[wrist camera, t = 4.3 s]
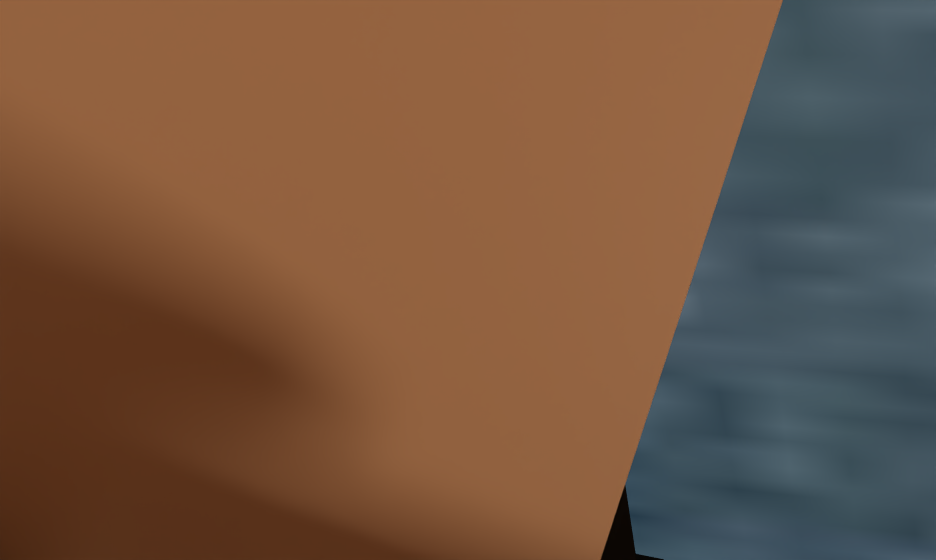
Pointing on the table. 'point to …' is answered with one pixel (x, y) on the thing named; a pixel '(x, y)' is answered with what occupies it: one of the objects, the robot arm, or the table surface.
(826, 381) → the table surface
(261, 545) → the shelf board
